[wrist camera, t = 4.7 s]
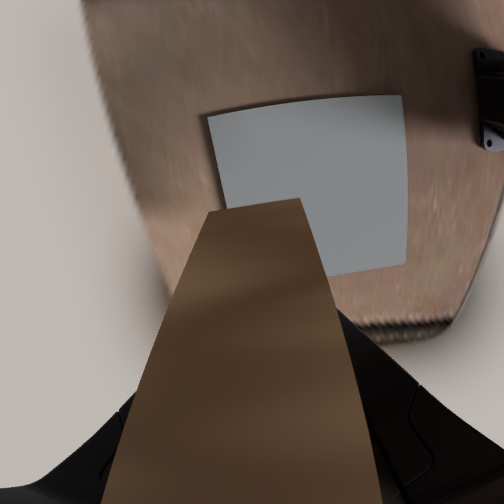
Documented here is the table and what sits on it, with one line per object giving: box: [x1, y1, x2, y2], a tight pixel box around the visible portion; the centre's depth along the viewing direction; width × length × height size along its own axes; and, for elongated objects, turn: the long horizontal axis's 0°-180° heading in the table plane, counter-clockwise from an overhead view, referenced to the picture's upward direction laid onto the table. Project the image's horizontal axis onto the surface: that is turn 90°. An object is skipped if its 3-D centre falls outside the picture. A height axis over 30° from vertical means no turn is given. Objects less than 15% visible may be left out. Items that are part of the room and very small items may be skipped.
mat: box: [207, 95, 408, 277], centre depth 16 cm, size 10×10×1 cm
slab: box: [101, 198, 383, 504], centre depth 6 cm, size 2×5×8 cm, turn 10°
